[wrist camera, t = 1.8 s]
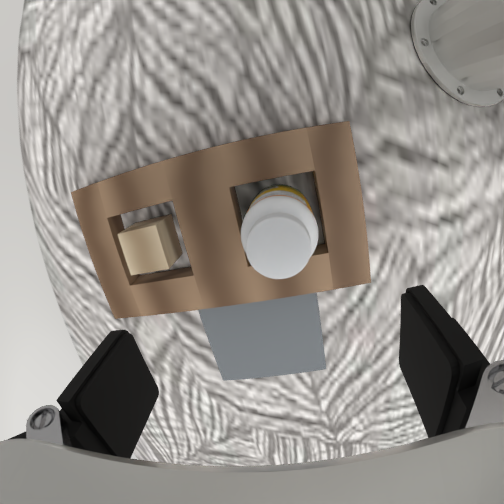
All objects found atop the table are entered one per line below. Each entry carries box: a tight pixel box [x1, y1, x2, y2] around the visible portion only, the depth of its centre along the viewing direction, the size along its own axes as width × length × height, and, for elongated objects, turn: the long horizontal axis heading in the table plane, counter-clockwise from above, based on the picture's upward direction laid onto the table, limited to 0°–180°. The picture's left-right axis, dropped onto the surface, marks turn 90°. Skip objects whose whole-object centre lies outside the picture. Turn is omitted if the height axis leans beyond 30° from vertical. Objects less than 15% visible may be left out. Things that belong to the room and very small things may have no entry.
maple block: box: [117, 214, 182, 275], centre depth 28 cm, size 4×4×4 cm
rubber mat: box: [198, 293, 326, 380], centre depth 32 cm, size 12×10×1 cm
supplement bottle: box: [241, 185, 318, 279], centre depth 23 cm, size 5×5×10 cm
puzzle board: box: [71, 121, 371, 319], centre depth 27 cm, size 26×14×2 cm, turn 102°
